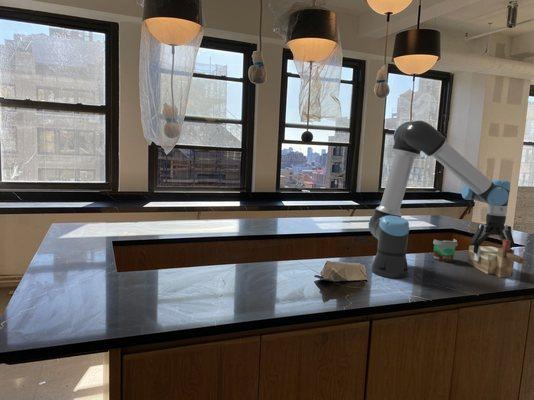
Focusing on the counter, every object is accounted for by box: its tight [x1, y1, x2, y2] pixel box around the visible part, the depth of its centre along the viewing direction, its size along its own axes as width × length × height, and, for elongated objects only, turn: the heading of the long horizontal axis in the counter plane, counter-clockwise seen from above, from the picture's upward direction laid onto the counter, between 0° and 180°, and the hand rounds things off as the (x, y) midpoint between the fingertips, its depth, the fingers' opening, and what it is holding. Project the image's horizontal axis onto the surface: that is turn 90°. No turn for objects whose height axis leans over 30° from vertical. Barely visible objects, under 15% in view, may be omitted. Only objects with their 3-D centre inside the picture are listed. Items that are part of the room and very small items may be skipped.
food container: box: [432, 238, 458, 263], centre depth 186 cm, size 12×6×10 cm, turn 105°
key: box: [501, 238, 527, 265], centre depth 162 cm, size 2×12×7 cm, turn 2°
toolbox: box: [467, 247, 515, 279], centre depth 175 cm, size 11×20×12 cm, turn 2°
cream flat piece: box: [468, 245, 516, 263], centre depth 177 cm, size 12×15×4 cm
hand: (490, 260), depth 177 cm, fingers closed on cream flat piece, 12 cm apart
